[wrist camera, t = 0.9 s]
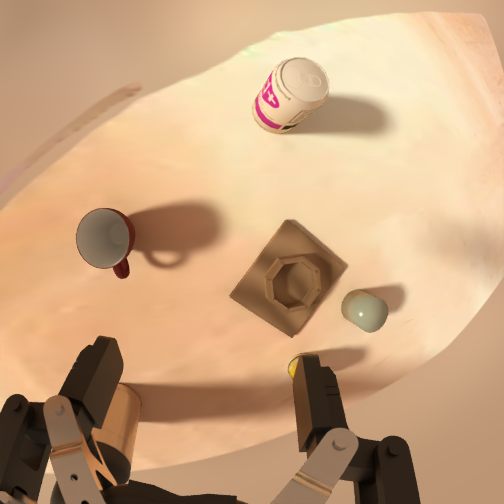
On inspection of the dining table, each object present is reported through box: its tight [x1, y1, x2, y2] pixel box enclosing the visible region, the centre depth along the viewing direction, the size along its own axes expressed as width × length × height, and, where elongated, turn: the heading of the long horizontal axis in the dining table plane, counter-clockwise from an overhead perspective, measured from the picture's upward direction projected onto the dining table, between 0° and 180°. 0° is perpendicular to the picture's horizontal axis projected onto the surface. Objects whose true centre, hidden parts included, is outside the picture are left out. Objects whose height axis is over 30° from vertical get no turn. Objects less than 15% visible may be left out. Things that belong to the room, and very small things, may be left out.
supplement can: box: [252, 57, 329, 134], centre depth 40 cm, size 8×8×15 cm
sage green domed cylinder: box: [341, 290, 388, 333], centre depth 51 cm, size 6×6×7 cm
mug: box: [76, 208, 135, 279], centre depth 40 cm, size 10×8×10 cm
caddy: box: [229, 220, 344, 338], centre depth 49 cm, size 16×14×4 cm
